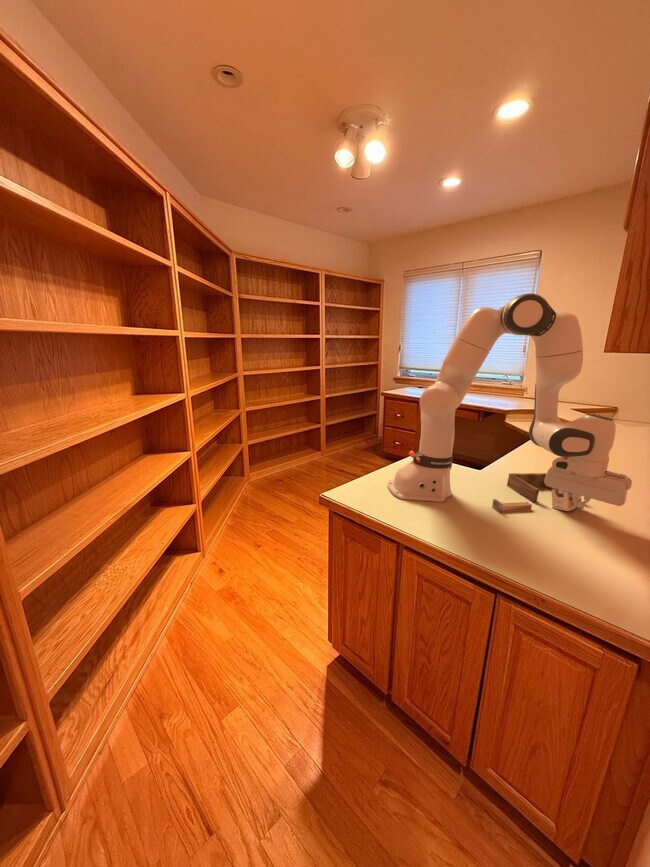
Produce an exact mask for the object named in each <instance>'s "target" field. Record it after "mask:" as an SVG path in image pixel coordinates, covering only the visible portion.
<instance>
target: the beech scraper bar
mask: <svg viewBox="0 0 650 867" xmlns="http://www.w3.org/2000/svg"><path fill="white" fill-rule="evenodd" d="M532 507H533V504H532V503H530V502H528V501H524V502H523V501H522V502H521V501H520V502H519V501H518V502H503V503H502V502H501V501H499V500H498V499H497V498H493V500H492V505H491V509H493V510H495V511H496V512H497V513H498V514H502V512H506V513H507V512H521V511H522V512H523V511H524V512H525V511H532Z"/></svg>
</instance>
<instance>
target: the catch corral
mask: <svg viewBox="0 0 650 867" xmlns="http://www.w3.org/2000/svg"><path fill="white" fill-rule="evenodd" d="M546 474H547V472H544V473H543V472H539V473H538V472H537V473H536V472H532V473H531V472H528V473H526V472H524V473H521V472H520V473H519V472H518V473H515V472H514V473H511V472H510V473H508V477H507V481H506V482H507V483H506V487H508V488H509V489H510V490H513V491H514V492H516V494H517V493H518V494H519V495H521V496H522V497H523V498H525V499H526V500H528V501H529V502H531V504H532V503H533V504H536V503H537V502H538V497H539V492H540V489H539V488H538V487H544V488H545V487H546V488H548V489H550V490H551V491H552V487H548V486H546V485H545V483H544V480H545V476H546Z"/></svg>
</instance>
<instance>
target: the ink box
mask: <svg viewBox="0 0 650 867" xmlns="http://www.w3.org/2000/svg"><path fill="white" fill-rule="evenodd" d="M571 494H572V493H570V492H567V491H563V490H559V489H556V488H552V490H551V502H552V503H551V507H552V509H556V510H560V511H566V512H570V511H572V510H574V509H577V508H576V507H573V506H574V501H573V499H572V497H571ZM577 499H578V501H580V502H582V496H581V495H578V496H577Z"/></svg>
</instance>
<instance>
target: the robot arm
mask: <svg viewBox="0 0 650 867" xmlns="http://www.w3.org/2000/svg"><path fill="white" fill-rule="evenodd" d="M504 334H510V335H513V336H529V337H531V338H532V340H533V342H534V346H535V366H536V367H535V370H536V374H535V375H536V376H535V385H534V406H533V407H534V408H533V410H534V411H533V412H534V413H533V419H532V422H531V423H530V426H529V430H528V437H529V439H530V441H531V443H533V444H534V445H535V446H537V447H541V448H542V449H544V450H546V451H548V452H550V453H551V454H553V455H555V456H558V457H556V458H554V460H553V461H552V463H551V467H550V468H548V470H547V472H546V473H547V474H546V476H545V480H544V483H545V485H546V486H548V487H552V488H556V489H559V490H563V491H567V492H570V493H572V494H571V497H572V499H573V501H574V506H573V507H576V508H575V509H579V510H584V509H585V506H586V504H588V502H590V501H591V500H596V501H598V502H603V503H605V504H609V505H610V504H611V505H613V506H616V507H621V506H623V505H625V503H626V501H627V495H628V490H630V489H631V488H632V479H631V478H630V477H628V476H627V475H626V474H623V473H617V472H615V471H614V472H613V471H610V470H607V469H608V466H609V463H610V462H609V461H610V451H611V450H612V448H613V446H614V442H615V437H616V422H615V420H614V419H612V418H610V417H608V416H603V415H600V414H596V413H584V414H583V415H582V416H580V417H578V418H576V419H573V420H571V421H566V422H563V421H561V419H560V418H559V414H558V409H559V408H558V407H559V395H560V394H559V393H560V390H561V389H562V388H563V387H564V386H565V385H566V384H568V383H570V382H572V381H573V380H575V379H576V378H577V377H578V376H579V375H580V374H581V372H582V369H583V364H584V362H583V361H584V346H583V344H584V343H583V335H582V330H581V326H580V322H579V318H578V317H577V316H576V315H575V314H573V313H569V312H556V311H555V310H554V309H553V307H552V306H551V305H550V304H549V302H548V301H547V300H546V299H545V298H544V297H543V296H542V295H539V294H536V293H523V294H520V295H517V296H516V297H513V298H512V299H510V300H509V301H508V302H507V303H506V304H505V305H503V306H502V307H499V309H496V308H495V309H494V308H492V307H489V306H488V307H487V306H482V307H479V308H476V309H474V311H473V312H471V314H470V315H469V316H468V318H467V319H466V321H465V322H463V325H462V326H461V328H460V330H459V332H458V333H457V334H456V337H455V339H454V340H453V342H452V344H451V346H450V348H449V350H448V352H447V353H446V356H445V357H444V359H443V362H442V365H441V368H440V370H439V373H438V375H437V378H436V379H435V382H434V384H432V385H429V386H428V387H427V388H425V389H424V390H423V392H422V393H421V395H420V397H419V409H420V439H419V448H418V450H417V452H414V451H413V450H410V451H409V452H408V455H409V457H411V458H412V461H409V463H407V464H405V465H404V466H402V467H400V468H399V469H397V471H396V473H395V476H394V479H392V480H389V481H388V482H387V489H388V490H389V492H390V493H391V494H392V496H394V497H396V498H398V499H400V500H409V501H410V500H411V501H412V500H413V501H425V502H438V503H439V502H440V503H443V502H445V500H446V499H448V498H449V497H451V495H452V488H451V487H452V486H451V470H452V467H453V459H454V456H453V449H454V442H455V434H456V433H455V419H456V410H457V409H458V408H459V407H460V406H461V404H462V402H463V400H464V398H465V396H466V395H467V393H468V391H469V389H470V387H471V386H472V384H473V382H474V379H475V378H476V376H477V374H478V372H479V371H480V369H481V367H482V366H483V364H484V362H485V360H486V359H487V357H488V355H489V354H490V351H491V350H492V348H493V347H494V345H495V344H496V342H497V341H498V339H499V338H500V337H502V336H503V335H504ZM548 487H547V488H548ZM578 495H581V497H583V500H584V501H581V502H580V501H578V499H577V496H578Z"/></svg>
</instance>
